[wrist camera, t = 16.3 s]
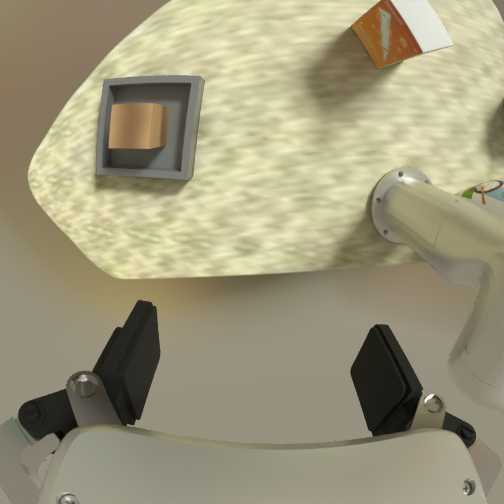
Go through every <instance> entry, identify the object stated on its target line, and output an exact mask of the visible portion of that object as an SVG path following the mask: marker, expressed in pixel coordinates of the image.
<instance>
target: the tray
mask: <svg viewBox="0 0 504 504" xmlns="http://www.w3.org/2000/svg"><path fill="white" fill-rule="evenodd" d="M204 83H205V80H204V79H203V78H202V77H201V76H180V75H169V76H139V77H125V78H114V79H105V80H104V83H103V90H102V97H101V106H100V115H99V126H98V140H97V163H96V175H118V176H137V177H153V178H166V179H178V180H189V179H190V178H191V177H193V171H194V161H195V151H196V142H197V133H198V125H199V117H200V110H201V103H202V96H203V89H204ZM135 103H155V104H159V105H163V106H167V107H170V113H169V122H168V131H167V142H166V146H161V147H156V148H151V149H133V148H109V133H110V121H111V111H112V105H115V104H135Z"/></svg>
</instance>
